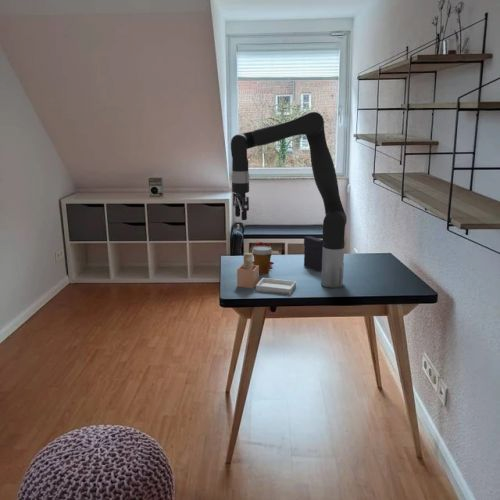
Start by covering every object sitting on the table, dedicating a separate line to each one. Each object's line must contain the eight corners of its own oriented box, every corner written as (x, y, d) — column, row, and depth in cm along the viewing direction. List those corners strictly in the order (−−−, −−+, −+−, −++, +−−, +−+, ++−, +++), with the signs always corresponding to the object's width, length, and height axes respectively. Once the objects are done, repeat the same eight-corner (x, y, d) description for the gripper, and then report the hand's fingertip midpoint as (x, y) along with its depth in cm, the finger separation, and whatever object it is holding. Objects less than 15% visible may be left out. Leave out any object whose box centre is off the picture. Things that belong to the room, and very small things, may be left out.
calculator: (324, 270, 243) (325, 240, 239) (317, 271, 241) (319, 241, 237) (309, 264, 252) (310, 235, 248) (302, 266, 250) (304, 236, 246)
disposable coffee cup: (270, 276, 234) (270, 251, 230) (250, 274, 235) (250, 250, 232) (273, 270, 243) (273, 246, 239) (253, 268, 244) (254, 244, 241)
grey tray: (295, 286, 220) (295, 281, 219) (290, 294, 210) (290, 289, 209) (262, 282, 224) (262, 277, 224) (255, 290, 214) (255, 285, 213)
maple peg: (253, 283, 223) (254, 253, 219) (250, 286, 219) (251, 255, 216) (244, 282, 224) (245, 252, 220) (242, 285, 220) (242, 254, 217)
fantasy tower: (274, 262, 255) (275, 239, 252) (273, 269, 244) (273, 245, 241) (251, 261, 256) (251, 238, 253) (248, 268, 245) (249, 244, 242)
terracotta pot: (258, 282, 224) (258, 265, 222) (253, 288, 217) (254, 270, 215) (242, 281, 226) (242, 264, 224) (237, 286, 219) (237, 268, 217)
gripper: (254, 182, 213) (254, 220, 217) (243, 179, 226) (243, 214, 230) (237, 183, 210) (238, 221, 214) (227, 180, 223) (227, 216, 227)
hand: (240, 218), depth 222 cm, fingers open, 8 cm apart
